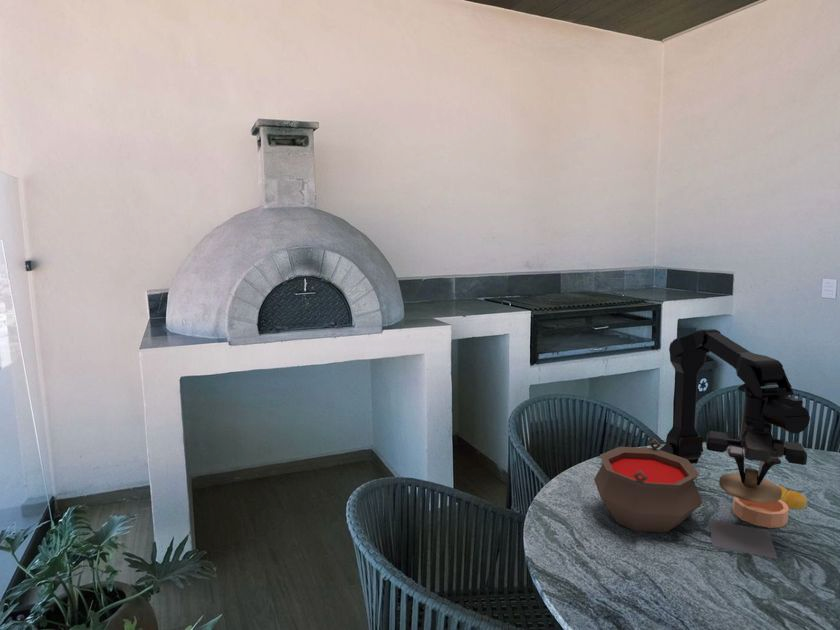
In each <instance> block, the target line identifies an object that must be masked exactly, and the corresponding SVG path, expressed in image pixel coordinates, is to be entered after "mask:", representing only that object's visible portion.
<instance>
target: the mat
mask: <svg viewBox="0 0 840 630" xmlns="http://www.w3.org/2000/svg"><path fill="white" fill-rule="evenodd" d="M708 521H709V528H710V530H709V531H710V537H711V544H712V547H714V548H719V549H724V550H729V551H733V552H738V553H739V552H740V553H744V554H750V555H754V556H758V557H759V556H761V557H764V558H765V557H766V558H770V559H773V560H774V559H777V560H778V555H777V552H776V549H775V546H774V543H773V540H772V537H771V533H770V530H769V529H763V528H758V527H753V526H748V525H747V526H746V525H741V524H736V523H731V522H725V521H719V520H714V519H709V520H708Z"/></svg>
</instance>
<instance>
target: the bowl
mask: <svg viewBox="0 0 840 630" xmlns="http://www.w3.org/2000/svg"><path fill="white" fill-rule="evenodd" d="M732 498H733V499H732V500H733V501H732V512H733V515H735V516H736V517H738V519H740V520H741V521H744V522H747V523H749V524H752V525H754V526H758V527H764V528H769V529H772V528H783V527H784V526H785V525H787V524H789V523H788V522H789V513H790V509H789V508H788V506H787V504H786V503H784V502H783V501H781V500H779V501H777V502H773V503H757V502H751V501H746V500H743V499H740V498H737V497H734V496H732Z"/></svg>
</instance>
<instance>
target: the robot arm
mask: <svg viewBox="0 0 840 630" xmlns="http://www.w3.org/2000/svg"><path fill="white" fill-rule="evenodd" d="M668 349H669V351H668V352H669V361H670V363H671V365H672V367H673V368H674V370H675V392H674V394H675V397H674V414H673V415H674V419H673V426H672V427H671V429H670V430H669V431H668V432H667V435H666V439H665V444H664V445H663V446H661V448H658V450H661V451H664V452H667V453H670V454H673V455H676V456H679V457H682V458H685V459H688V460H689V462H690V463H691V464H692V465H693V464H695V465H696V464H698V463H699V459H700V458H701V456H702V452H704V449H703V443H704V438H703V436H701V435H700V434H699V433H698V431H697V429H696V411H697V390H698V375H699V374H698V373H699V372H700V370H702V368H703V366H704V365H705V363H706V359H707V358H706V357H707V355H708V354H709V353H712V354H714V355H715V356H716V357H718V358H719V359H721V360H722V361H724V362H726V363H727V365H729V366H731V367H732V368H734V370H735V372H736V373H735V374H736V376H737V377H738V378H739V379H740V380H741V381H742V383H743V384H741V385H740V386H738V387H737V390H738V391H740V392H743V393H744V399H743V409H742V417H741V419H742V420H741V428H740V435H739V439H736V438H729V437H728V435H727V432H722V431H715V430H709V431H707V432H706V437H705V445H706V450H708V451H711V452H716V453H717V452H718V453H722V454H723V453H724V452H726V451H727V455H728V456H729V457H731V458H733V459H734V460H735V462H736V463H735V464H736V465H737V468H738V473H740V477H741V481H742V483H744V478H745V475H744V473H745V459H746V460H749V461H758V462H759V465H758V469H757V471H758V480H757V485H758V486H759V485H760V483H761V482H762V480H763V478H764V479H765V477H766V475H767V473H768V471H770V469H772V467H773V466H775V465H781V464H782V461H781V458H783V456H784V458H785V460H786V461H787V462H788V463H789V464H795V465H802V466H806V465H807V462H808V452H807V451H806V448H805V447H804V446H803V444H802V443H801V442H793V441H786V440H783V439H780V438H779V439H778V438H773V435H772V433H773V432H772V431H773V426H776V427H777V428H779V429H781V430H784V431H786V432H788V433H791V434H800V433H802V432H803V431H805V430H806V429H807V427H808V426H809V424H810V421H811V416H810V414H809V411H808V409H807V408H806V407H804V406H803V403H804V401H803V400H801V399H800V398H797V397H796V398H794V397H791V396H794V394H795V393H794V391H793V388H792V385H791V383H790V382H789V379H788V377H787V374H786V371H785V369H784V365H783V364H782V363H781V362H780V361H779V360H778V359H776V358H773V357H771V356H767V355H763V354H758V353H754V352H751V351H750V350H748V349H746V348H745V347H744V346H741V345H740V344H739V343H736V342H735V341H733V340H732V339H730V338H729V337H727V336H725V335H724V334H722V333H721V332H720V330H718V329H714V328H711V329H710V328H709V329H708V328H707V329H705V328H704V329H703V328H702V329H699V330H696V331H695V332H694V333H692V334H691V333H690V334H688V335H685V336H682V337H679V338H675V339H673V340H672V341H671V342H670V345H669V348H668ZM776 386H777V387H776Z"/></svg>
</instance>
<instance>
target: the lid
mask: <svg viewBox="0 0 840 630" xmlns="http://www.w3.org/2000/svg"><path fill="white" fill-rule="evenodd" d="M744 475H745V478H744V483H742V481H741V477H740V473H739V472H738V473H737V472H733V473H725V474H723V475H721V476H720V477H719V483H718V485H719V487H720V489H721V490H722V491H724V492H725V493H727V494H728V495H731V496H732V497H737V498H740V499H743V500H746V501H751V502H757V503H773V502H777V501H779V500H780V499H781V495H782V491H781V489H780V488H779V487H778V486H779V485H778V486H777V484H776V483H774V482H772V481H770V480H768V479H766V478H765V477H764V478H763V480H762V482H761V483H760V485H759V486H758V485H757V480H758V469H755V468H752V467H746V468H745V467H744Z"/></svg>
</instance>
